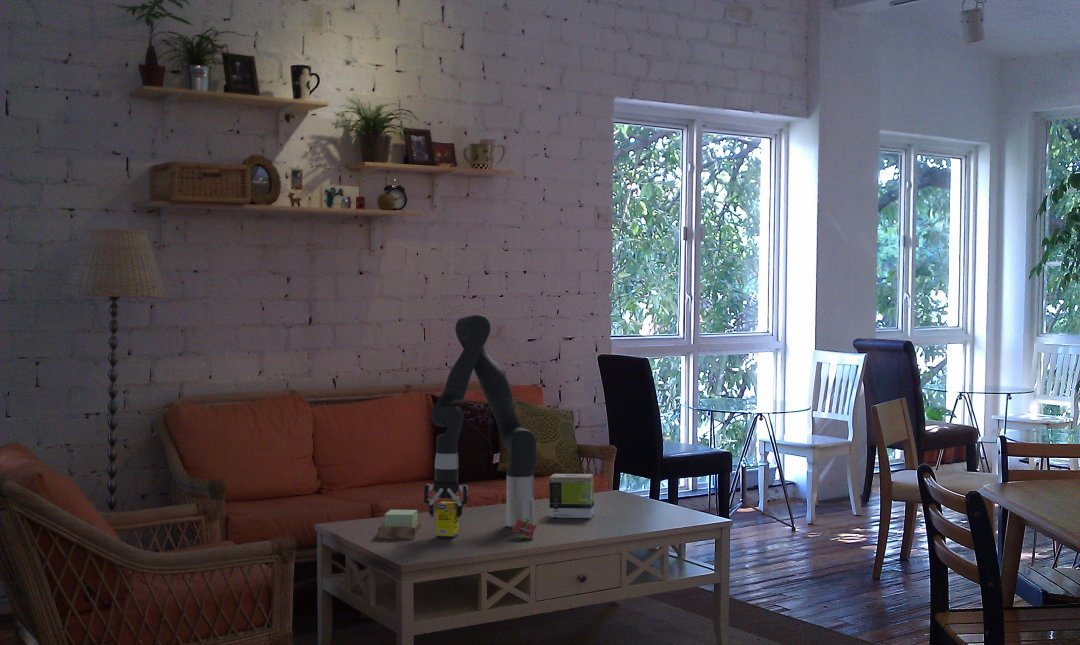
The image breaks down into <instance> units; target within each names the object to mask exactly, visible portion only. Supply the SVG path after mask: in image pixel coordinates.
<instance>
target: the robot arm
mask: <svg viewBox="0 0 1080 645" xmlns="http://www.w3.org/2000/svg"><path fill="white" fill-rule="evenodd" d="M490 333H491V322H490V320H489V318H487V317H486V316H485V315H483V314H480V313H477V314H472V315H468V316H463V317H461V318H458V320H457V321H456V322H455V334H456V338H457V340H458V341H459V343H460V345H461V348H463V350H462V352H461V354H460V356H459V357H458V358H457V359H456V362H455V363H454V365H453V366H452V368H451V370H450V372H449V374H448V377H447V379H446V382H445V386H444V389H443V392H441V395H440V396H439V397H438V399H437V401H436V402H435V404H434V406H433V408H432V409H431V421H432V423H433V424H434V425H435V426H437V427H440V428H441V427H443V428H445V427H446V428H447V429H446V432H445V433H442V434H438V435H437V436H436V441H435V442H436V443H435V446H436V448H435V459H434V484H429V483H426V484H425V485H424V492H423V503H424V504H428V506H429V508H428V509H429V513H428V514H429V515H430V517H431V518H434V517H435V511H436V510H435V508H436V504H435V502H436V501H437V500H438V498H440V499H449V500H450V499H453V501H454V502H456V503H457V504H458V506H457V517H458V518H461V516H462V515H463V508H464V507H463V506H464V505H467V504H468V503H469V488H468V487H469V486H468V485H467V484H464V485H459V453H458V452H459V450H458V449H459V444H458V443H459V438H460V435H461V431H462V427H463V422H464V416H465V415H464V411H463V409H462V408H461V407H460V406H459V405H458V406H457V405H454V404H456V403H458V402H462V401H463V400H465V399H464V398H465V396H466V394H467V393H466V392H467V390H468V386H469V384H470V383H469V382H470V379H471V376H472V373H473V371H474V373H475V375H476V377H477V379H478V380H477V381H478V383H479V385H480V388H481V389H482V393H483V395H484V397H485V399H486V401H487V403H488V406H489V408H490V410H491V413H492V415H493V417H494V419H495V421H496V423H497V426H498V429H499V432H500V436H501V440H502V442H503V445H504V447H505V449H506V450H507V451H508V452H509V453H510V461H509V462H510V463H509V465H508V466H507V467H506V527H509V528H512V529H513V528H514V527H513V523H514V522H515V521H516V520H517V519H519V520H522V521H524V522H526V520H524V519H527V518H528V519H529V521H530V522H529V521H528V523H530V524H532V525H534V524H535V494H534V493H535V492H534V489H535V488H534V486H535V485H534V484H535V483H534V481H535V480H534V476H535V475H534V471H535V468H536V466H537V439H536V436H535V434H534V433H533V432H532V431H531V430H529V429H525V428H523V426H522V424H521V423H520V420H519V417H518V416H517V413H516V410H515V407H514V397H513V390H512V387H511V384H510V383H509V380H508V377H507V376H506V374H505V373H506V372H505V371H504V370H503V369H502V367H501V366H500V365H499V364H498V363H497V362H496V361H495V360H494V359H493V358H492V357H491V356H490V355H489V353H488V352H487V351H486V349H485V347H484V346H485V345H486V342H487V340H488V338H489V336H490ZM432 490H433V491H434V492H435V495H433V497H432V499H430V492H431V491H432ZM459 490H460V491H461V493H462V496H463V497H462V498H463V499H462V500H461V497H460V496H459V495H458V491H459ZM531 521H532V522H533V523H532V522H531Z"/></svg>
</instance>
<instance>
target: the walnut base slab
mask: <svg viewBox="0 0 1080 645" xmlns="http://www.w3.org/2000/svg"><path fill="white" fill-rule="evenodd" d="M421 532H422V520H417V523H416V524H415V525H414V526H413V527H385V521H384V522H382V523H381V524H380V525H379V526H378V527H377V539H387V540H388V539H390V540H391V539H392V540H393V539H395V540H396V539H398V540H399V539H401V540H402V539H403V540H405V539H406V540H415V539H416V538H417V537H418V536H419V535H420V533H421Z"/></svg>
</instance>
